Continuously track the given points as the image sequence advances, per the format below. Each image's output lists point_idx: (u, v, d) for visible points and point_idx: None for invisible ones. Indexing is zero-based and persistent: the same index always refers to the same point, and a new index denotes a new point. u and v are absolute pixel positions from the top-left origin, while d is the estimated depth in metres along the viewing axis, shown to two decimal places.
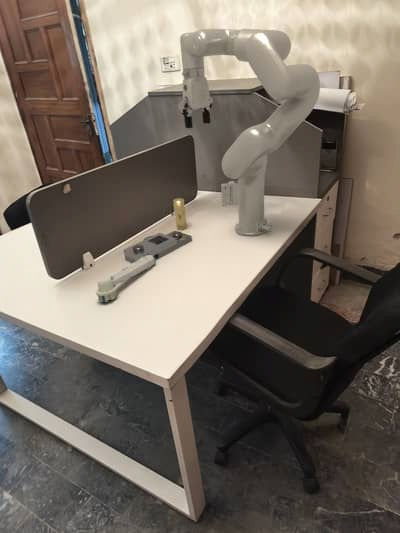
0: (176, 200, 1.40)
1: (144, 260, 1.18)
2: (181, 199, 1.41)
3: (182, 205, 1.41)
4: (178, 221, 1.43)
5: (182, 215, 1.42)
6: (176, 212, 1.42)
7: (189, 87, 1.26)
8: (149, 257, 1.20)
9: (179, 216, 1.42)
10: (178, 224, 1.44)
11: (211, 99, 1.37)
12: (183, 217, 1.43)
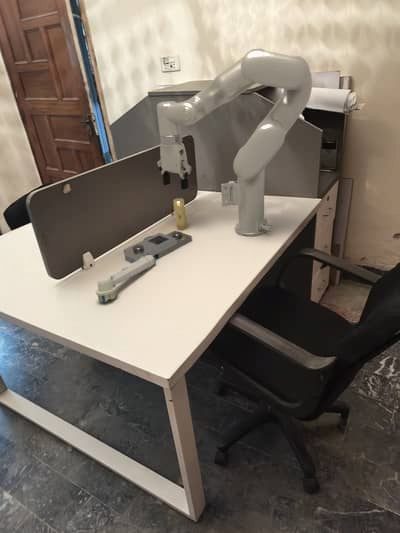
0: (176, 200, 1.40)
1: (144, 260, 1.18)
2: (181, 199, 1.41)
3: (182, 205, 1.41)
4: (178, 221, 1.43)
5: (182, 215, 1.42)
6: (176, 212, 1.42)
7: (184, 150, 1.30)
8: (149, 257, 1.20)
9: (179, 216, 1.42)
10: (178, 224, 1.44)
11: None
12: (183, 217, 1.43)
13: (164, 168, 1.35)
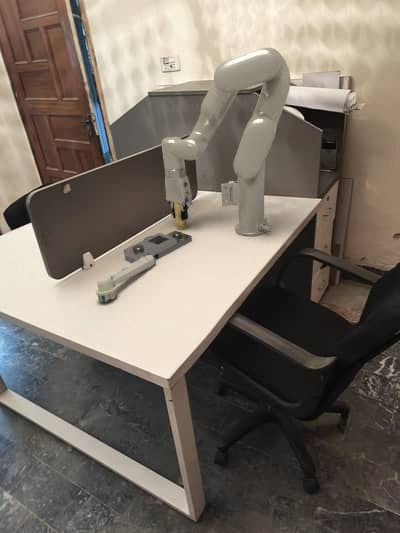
0: None
1: (144, 260, 1.18)
2: None
3: None
4: (178, 221, 1.43)
5: None
6: (176, 212, 1.42)
7: (188, 182, 1.36)
8: (149, 257, 1.20)
9: (179, 216, 1.42)
10: (178, 224, 1.44)
11: None
12: None
13: (169, 198, 1.41)
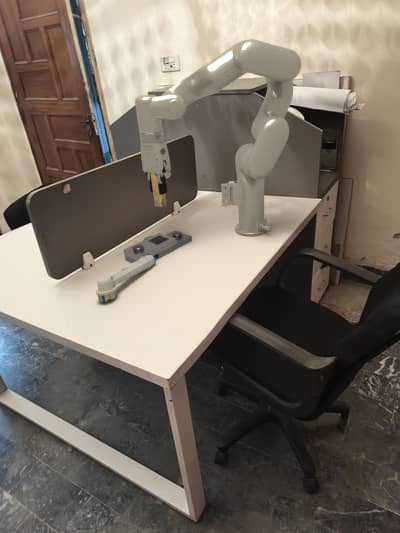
0: None
1: (144, 260, 1.18)
2: None
3: None
4: (155, 195, 1.25)
5: None
6: (153, 185, 1.24)
7: (166, 149, 1.17)
8: (149, 257, 1.20)
9: (156, 190, 1.24)
10: (156, 199, 1.26)
11: None
12: None
13: (145, 169, 1.23)
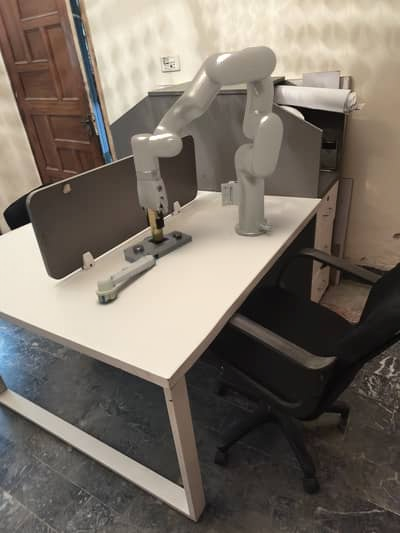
0: None
1: (144, 260, 1.18)
2: None
3: None
4: (153, 229, 1.26)
5: None
6: (150, 220, 1.24)
7: (163, 186, 1.18)
8: (149, 257, 1.20)
9: (153, 225, 1.25)
10: (153, 233, 1.26)
11: None
12: None
13: (142, 204, 1.24)
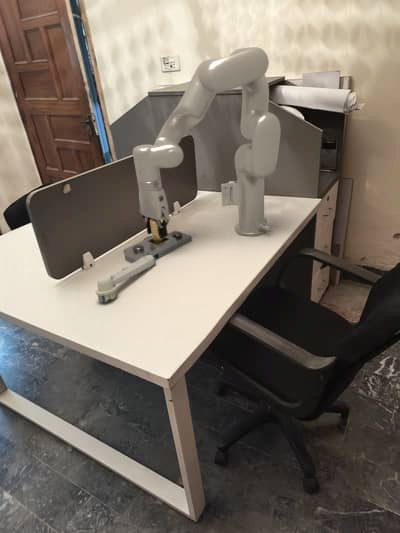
0: (152, 220, 1.25)
1: (144, 260, 1.18)
2: None
3: None
4: (155, 242, 1.28)
5: None
6: (153, 233, 1.27)
7: (164, 196, 1.20)
8: (149, 257, 1.20)
9: (156, 237, 1.27)
10: None
11: None
12: None
13: (144, 214, 1.25)
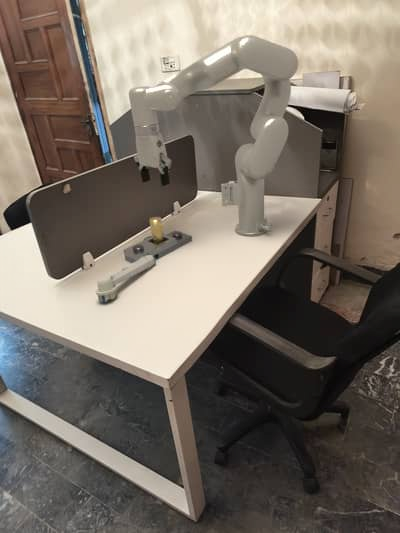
0: (152, 220, 1.25)
1: (144, 260, 1.18)
2: (158, 218, 1.26)
3: (159, 225, 1.25)
4: (155, 242, 1.28)
5: (159, 236, 1.27)
6: (153, 233, 1.27)
7: (163, 141, 1.16)
8: (149, 257, 1.20)
9: (156, 237, 1.27)
10: None
11: None
12: (161, 238, 1.28)
13: (141, 163, 1.21)
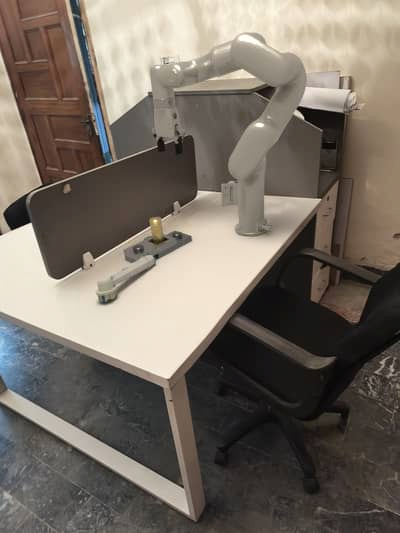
0: (152, 220, 1.25)
1: (144, 260, 1.18)
2: (158, 218, 1.26)
3: (159, 225, 1.25)
4: (155, 242, 1.28)
5: (159, 236, 1.27)
6: (153, 233, 1.27)
7: (178, 114, 1.30)
8: (149, 257, 1.20)
9: (156, 237, 1.27)
10: None
11: None
12: (161, 238, 1.28)
13: (158, 134, 1.36)
